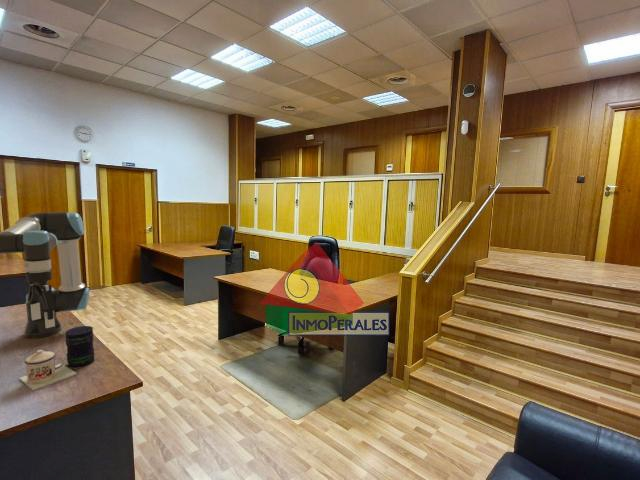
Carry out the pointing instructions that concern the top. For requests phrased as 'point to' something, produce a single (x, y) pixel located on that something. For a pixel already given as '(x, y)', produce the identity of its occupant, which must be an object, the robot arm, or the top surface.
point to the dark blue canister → (80, 346)
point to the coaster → (60, 375)
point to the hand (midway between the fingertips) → (43, 323)
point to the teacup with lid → (41, 366)
